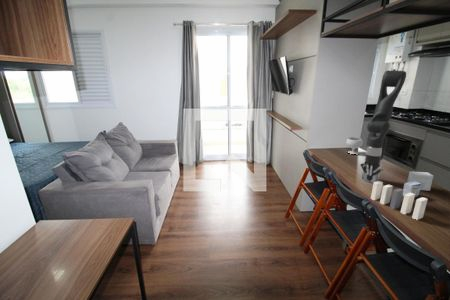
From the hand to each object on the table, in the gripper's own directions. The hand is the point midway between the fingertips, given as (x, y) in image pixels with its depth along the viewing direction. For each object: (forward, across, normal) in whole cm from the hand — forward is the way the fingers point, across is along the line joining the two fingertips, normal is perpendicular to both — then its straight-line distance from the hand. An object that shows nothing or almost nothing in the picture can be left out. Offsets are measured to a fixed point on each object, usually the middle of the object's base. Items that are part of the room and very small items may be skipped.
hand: (369, 180), depth 135 cm
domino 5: (+10, -27, 0) cm, 29 cm away
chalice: (+8, +60, -67) cm, 90 cm away
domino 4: (+10, -22, 0) cm, 24 cm away
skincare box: (+10, -9, -38) cm, 40 cm away
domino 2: (+10, -11, 0) cm, 15 cm away
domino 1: (+10, -5, 0) cm, 11 cm away
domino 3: (+10, -16, 0) cm, 19 cm away
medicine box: (+10, -13, -22) cm, 27 cm away
